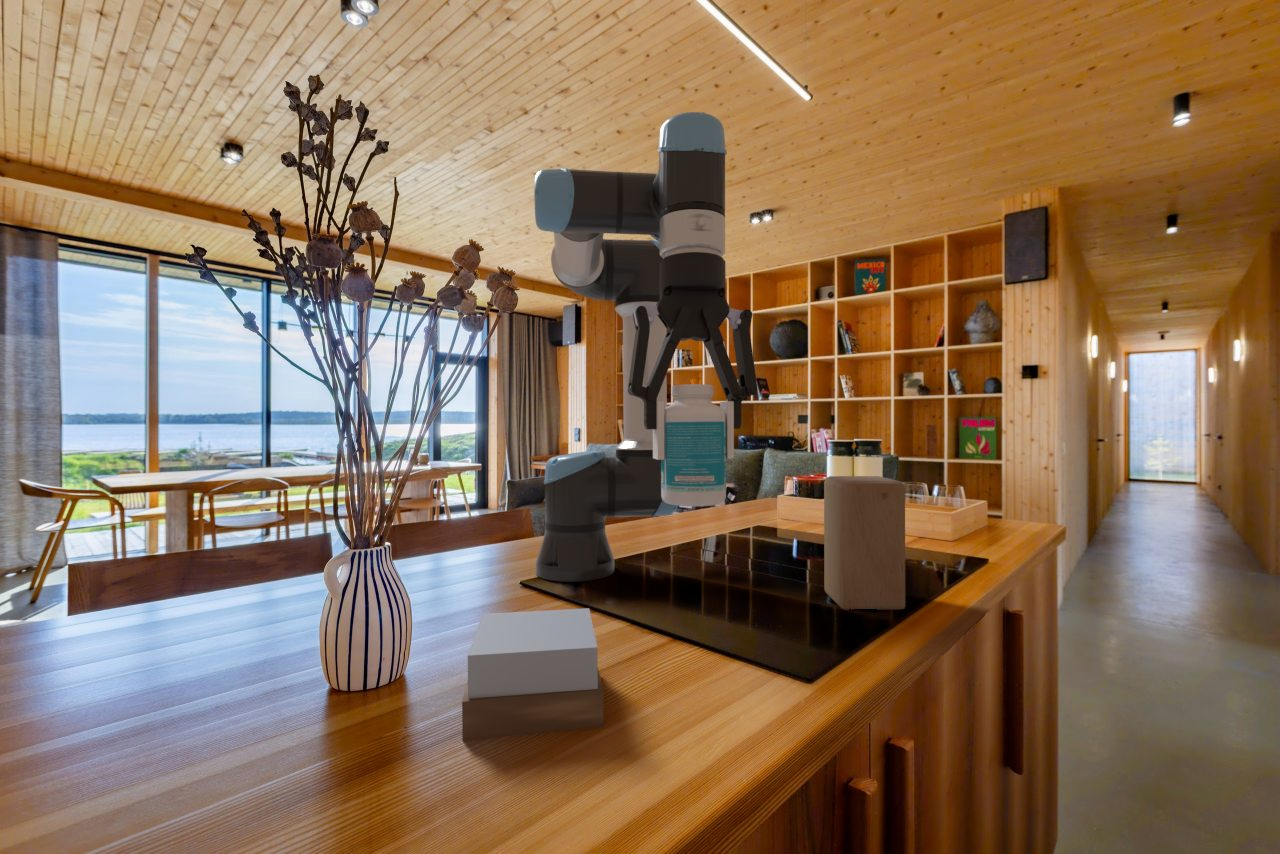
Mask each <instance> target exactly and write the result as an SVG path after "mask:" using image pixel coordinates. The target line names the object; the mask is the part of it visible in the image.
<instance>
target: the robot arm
mask: <svg viewBox="0 0 1280 854" xmlns="http://www.w3.org/2000/svg"><path fill="white" fill-rule="evenodd" d="M659 129H660V130H659V141H658V142H659V144H658V145H659V146H658V147H657V153H658V169H657V173H654V172H653V173H652V172H651V173H650V172H628V171H627V172H626V171H610V170H609V171H607V170H605V171H604V170H589V169H588V170H587V169H572V168H570V169H569V168H566V167H561V168H552V169H551V168H548V169H547V168H546V169H541V170H539V171H537V173H536V174H535V176H534V185H533V187H534V188H533V189H534V191H533V192H534V197H533V198H534V216H535V225H536V227H537V229H539V230H540V231H544V232H551V233H552V232H553V238H554V246H553V248H552V250H551V255H550V261H551V268H552V272H553V274H554V276H555V277H556V278H557V280H558V282H559V283H561V284H562V285H563V286H564V287H565V288H566V289H569V290H570V291H571V292H573V293H575V294H576V295H578V296H581V297H584V298H587V299H590V300H596V301H608V302H609V301H612V302H613V301H614V311H615V312H616V313H617V314H618V315H619V316H620V317H621V319H622V366H623V367H622V369H623V370H622V374H623V375H622V377H623V383H622V385H623V386H622V387H623V389H622V391H623V393H622V394H623V402H622V403H623V407H622V408H623V410H622V411H623V438H622V441H620V442H619V444H618V445H617V446H616V448H615V456H614V457H606V456H607V454H606V452H605V451H604V450H602V449H601V450H600V449H597V450H588V451H587V450H586V451H580V452H573V453H572V452H571V453H567V454H560V455H555V456H552V457H551V458H549V459H548V460H547V462H546V463H545V468H544V480H543V484H544V536H543V538H542V542H541V545H540V548H539V551H538V555H537V557H536V561H535V575H536V576H538V578H540V579H543V580H547V581H553V582H554V581H555V582H565V583H566V582H570V583H571V582H573V583H575V582H587V581H588V582H589V581H595V580H599V579H603V578H606V577H610V576H611V575H613V574H614V573H615V557H614V554H613V551H612V548H611V545H610V543H609V539H608V537H607V533H606V518H628V517H630V518H632V517H633V518H634V517H650V518H656V517H660V516H661V517H663V516H669V515H672V514H674V513H675V512H676V511H677V509H678V507H679V506H678V505H671V504H667V503H665V502H664V501H663V500H662V497H661V460H664V409H665V408H666V407H668V404H667V403H668V402H667V400H668V398H667V386H668V385H667V373H668V370H669V369H670V366H671V362H672V361H673V358H674V354H675V353H676V351H677V347H678V345H679V344H680V342H682V341H683V342H685V341H688V340H692V341H696V342H703V344H704V348H705V349H706V350H707V352H708V354H709V357H710V359H711V363H712V364H713V367H714V368H713V369H714V370H715V373H716V375H717V378H718V380H719V383H720V386H721V388H722V391H723V394H724V396H725V399H726V401H719V407H721V408H722V409H723V411H724V413H725V422H726V460H727V459H735V451H734V450H735V438H734V437H735V436H734V435H735V433H734V431H735V430H737V429H738V430H740V429H741V427H742V402H743V400H744V399H746V398H749V397H751V396H755V395H756V394H757V393H758V391H759V390H758V383H757V376H756V375H757V373H756V368H755V360H754V354H753V353H754V352H753V346H752V339H751V332H750V331H751V330H750V328H751V324H752V320H753V312H752V311H751V310H750V309H749V308H748V309H746V308H745V309H744V310H740V309H736V308H733V307H730V304H729V303H728V301H727V298H726V291H727V290H726V287H727V285H726V283H727V281H726V280H727V279H726V260H725V259H724V258H723V256H724V255H725V254H726V155H727V154H728V153H727V149H726V139H725V128H724V125H723V124H722V121H720V119H718V118H717V117H716V116H715V115H712V114H709V113H706V112H700V111H699V112H697V111H695V112H694V111H689V112H688V111H687V112H682V113H678V114H675V115H673V116H671V117H670V118H668V119H667V120H665V121H664V122H663V124H662V125H661V127H660V128H659ZM604 234H615V235H616V234H620V235H641V236H642V235H643V236H644V235H645V236H646V235H647V236H649V235H650V236H651V238H652V239H649V240H648V239H647V240H645V239H644V240H643V239H642V240H641V239H612V238H611V239H609V238H607V239H605V238H604ZM726 319H728V322H729V327H730V328H731V329H732V339H733V348H734V353H735V354H734V355H735V361H736V362H735V363H736V369H737V370H736V371H737V376H736V373H735V370H734V368H733V365H732V363H731V360H730V357H729V355H728V353H727V350H726V347H725V345H724V337H723V335H722V332H721V329H720V328H721V326H722V324H723V323H724V321H725V320H726ZM737 377H738V379H737Z"/></svg>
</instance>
